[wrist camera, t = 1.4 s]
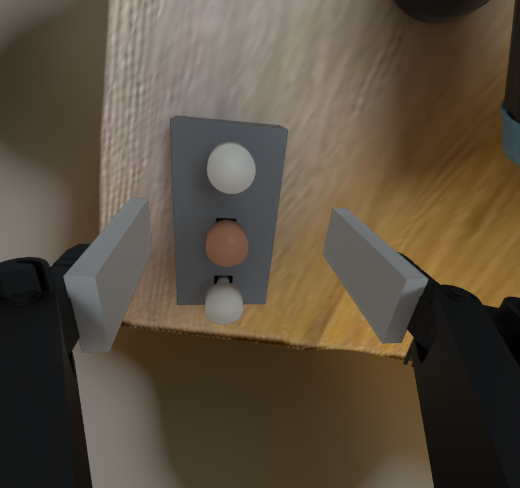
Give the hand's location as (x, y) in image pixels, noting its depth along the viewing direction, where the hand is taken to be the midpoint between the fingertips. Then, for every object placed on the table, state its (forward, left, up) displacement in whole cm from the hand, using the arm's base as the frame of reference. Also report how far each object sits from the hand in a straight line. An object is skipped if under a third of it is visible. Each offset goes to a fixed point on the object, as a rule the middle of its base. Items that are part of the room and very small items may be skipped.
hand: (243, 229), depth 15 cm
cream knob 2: (0, +16, -20) cm, 26 cm away
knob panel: (0, +8, -23) cm, 25 cm away
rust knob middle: (0, +8, -20) cm, 22 cm away
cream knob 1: (0, 0, -20) cm, 20 cm away
